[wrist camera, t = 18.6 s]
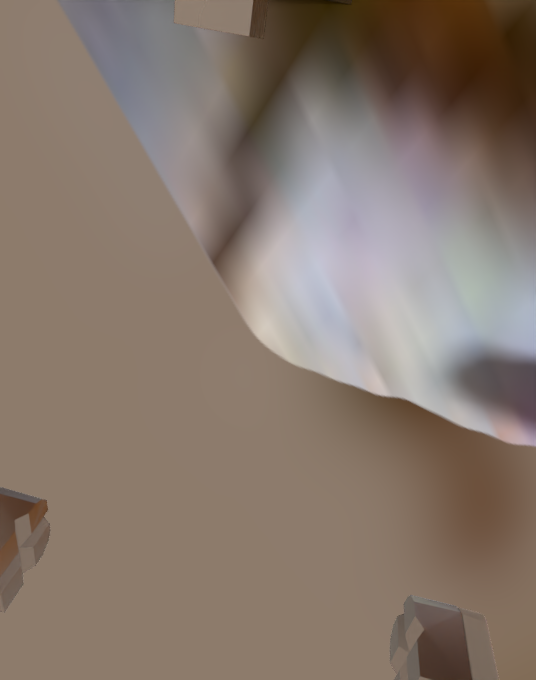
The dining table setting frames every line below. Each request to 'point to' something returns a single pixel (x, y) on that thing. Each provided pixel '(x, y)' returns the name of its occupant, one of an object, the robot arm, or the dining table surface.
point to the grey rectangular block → (224, 15)
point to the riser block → (342, 1)
